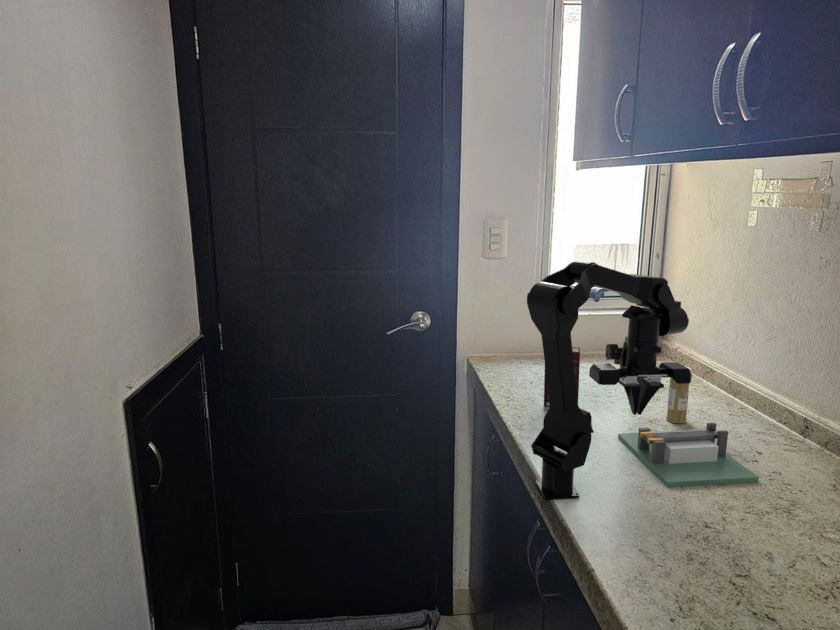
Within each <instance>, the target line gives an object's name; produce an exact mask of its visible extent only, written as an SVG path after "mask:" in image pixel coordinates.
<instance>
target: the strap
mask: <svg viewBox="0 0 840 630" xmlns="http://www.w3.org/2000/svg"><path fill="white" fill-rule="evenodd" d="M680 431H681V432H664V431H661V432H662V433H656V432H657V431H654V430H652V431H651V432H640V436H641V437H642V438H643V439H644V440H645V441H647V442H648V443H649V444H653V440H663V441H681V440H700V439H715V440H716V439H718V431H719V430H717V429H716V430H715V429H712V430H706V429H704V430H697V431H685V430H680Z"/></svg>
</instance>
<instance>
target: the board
mask: <svg viewBox="0 0 840 630" xmlns="http://www.w3.org/2000/svg"><path fill="white" fill-rule="evenodd" d="M712 429H715V430H717V423H716V422H707V423H706V428H705V430H712ZM681 431H682V430H666V431H655V432H656V433H662V432H681ZM684 431H698V430H697V429H691V430H689V429H688V430H684ZM717 431H718V439H717V442H716V443H715V441H716V439H700V440H681V441H663V440H653V444H649V443H648V442H647V441H645V440H644V439H643V438H642V437H641V436H640V432H651V428H649V427H638V432H628V433H627V432H626V433H618V434H617V438H618V439H619V441H621V442H622V443H623V444H624V446H626V447H627V449H629V450H630V451H631V453H633V455H635V456H636V457H637V458H638V460H640V461H641V462H642V463H643V464H644V465H645V466H646V467H647V468H648V469H649V471H650V472H652V473H653V474H654V475H655V476H656V477H657V478H658V480H660V481H661V482H662V483H663V484H664V485H665V486H666V488H674V487H677V488H678V487H690V486H691V487H692V486H693V487H694V486H695V487H696V486H709V485H726V484H730V485H731V484H741V483H742V484H745V483H759V478H760V477H759V476H758V475H757V474H755V473H754V472H752V471H751V470H750V469H748V468H747V467H746V466H744V465H743V464H742V463H741V462H739V460H736V459H735V458H734V457H732V456H731V455H729V454H728V453H727V446H728V438H729V437H728V435H729V431H728V430H725V429H724V430H723V429H722V430H717Z"/></svg>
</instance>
